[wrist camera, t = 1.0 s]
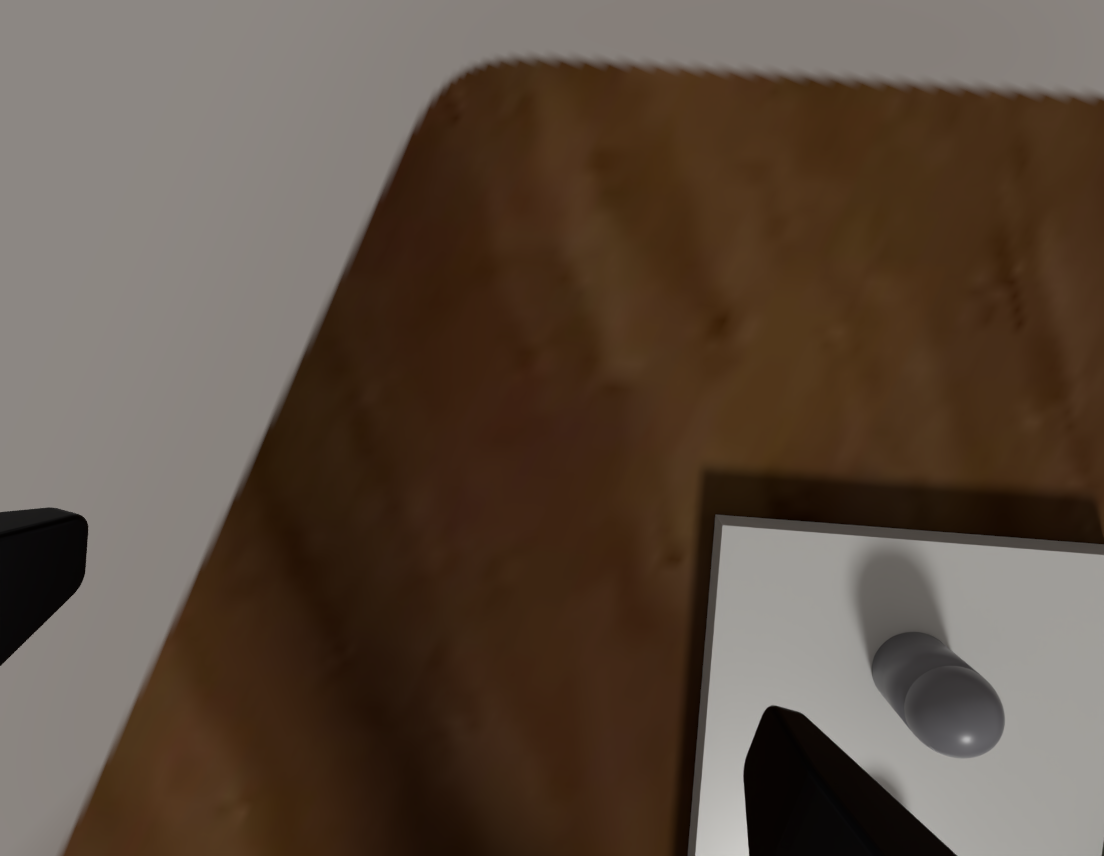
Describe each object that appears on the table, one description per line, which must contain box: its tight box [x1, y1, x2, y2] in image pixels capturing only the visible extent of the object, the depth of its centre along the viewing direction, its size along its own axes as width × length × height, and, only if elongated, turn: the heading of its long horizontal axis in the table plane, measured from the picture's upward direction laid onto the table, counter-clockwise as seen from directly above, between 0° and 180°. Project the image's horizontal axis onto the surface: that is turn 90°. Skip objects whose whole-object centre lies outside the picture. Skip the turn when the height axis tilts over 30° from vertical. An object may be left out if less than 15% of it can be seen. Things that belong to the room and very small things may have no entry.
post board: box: [688, 515, 1104, 856], centre depth 19 cm, size 14×12×5 cm
